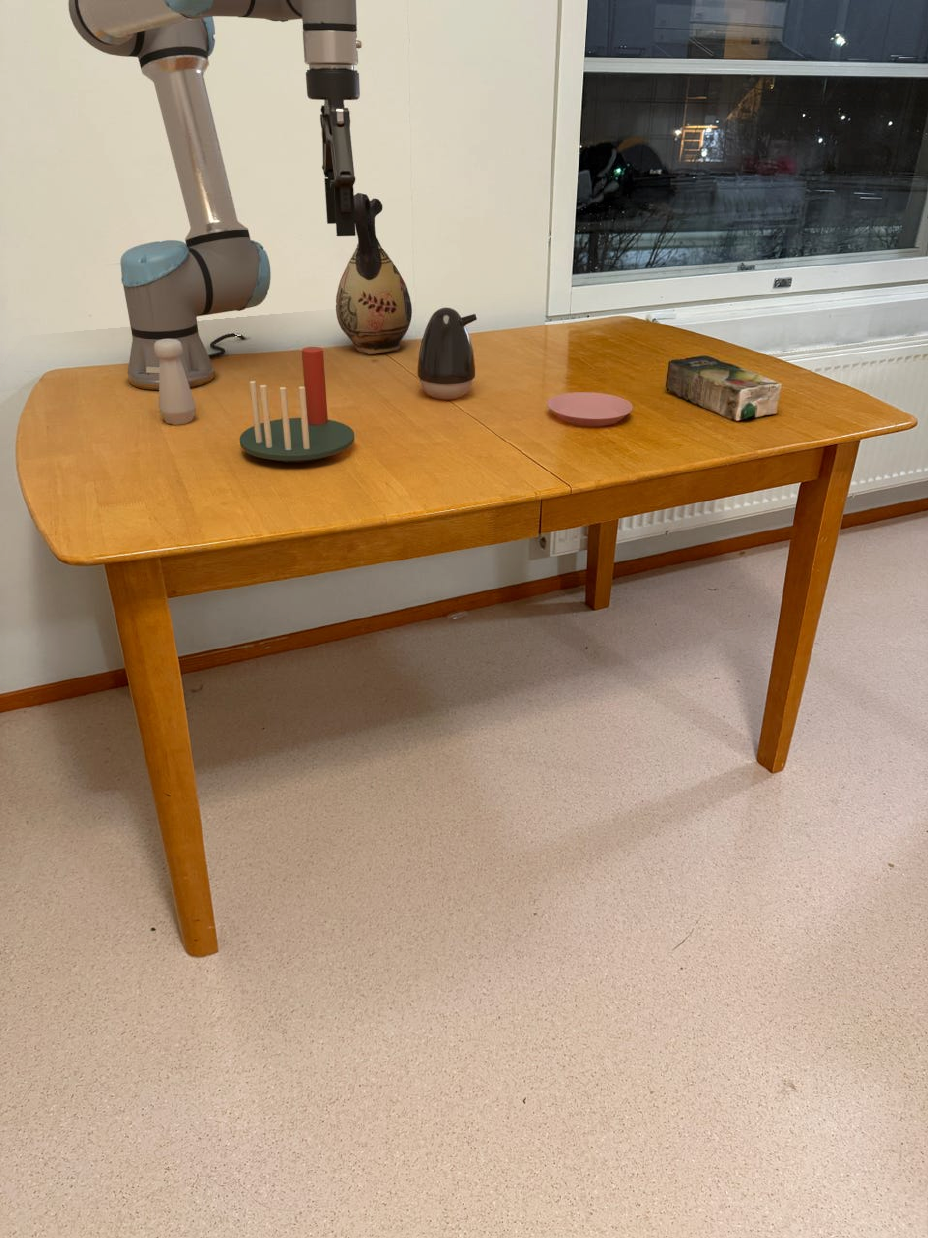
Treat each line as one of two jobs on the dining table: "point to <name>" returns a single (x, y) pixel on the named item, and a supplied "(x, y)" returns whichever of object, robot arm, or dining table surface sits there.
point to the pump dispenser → (446, 355)
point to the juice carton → (723, 387)
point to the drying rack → (297, 420)
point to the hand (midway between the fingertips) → (340, 229)
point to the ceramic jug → (372, 289)
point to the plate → (589, 408)
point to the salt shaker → (173, 384)
